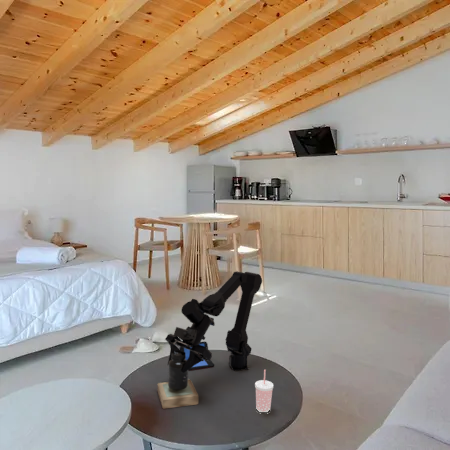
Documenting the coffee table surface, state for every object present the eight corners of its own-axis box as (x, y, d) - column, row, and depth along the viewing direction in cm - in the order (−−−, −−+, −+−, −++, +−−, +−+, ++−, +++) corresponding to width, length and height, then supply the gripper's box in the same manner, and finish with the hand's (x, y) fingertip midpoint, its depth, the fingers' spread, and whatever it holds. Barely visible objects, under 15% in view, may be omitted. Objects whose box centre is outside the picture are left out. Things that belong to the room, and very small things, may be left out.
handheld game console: (185, 372, 164) (186, 354, 163) (178, 361, 174) (178, 344, 173) (215, 367, 168) (215, 350, 168) (206, 357, 178) (206, 340, 178)
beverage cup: (258, 403, 141) (260, 364, 140) (275, 408, 138) (277, 368, 137) (250, 411, 136) (252, 370, 135) (267, 417, 133) (269, 375, 132)
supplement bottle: (189, 389, 141) (190, 356, 140) (169, 392, 139) (170, 358, 138) (185, 380, 147) (186, 348, 146) (166, 382, 145) (167, 350, 144)
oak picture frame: (190, 387, 151) (190, 379, 151) (198, 404, 140) (198, 395, 139) (157, 391, 147) (157, 382, 147) (162, 408, 136) (163, 399, 136)
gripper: (169, 312, 150) (144, 350, 142) (206, 324, 138) (182, 366, 130) (184, 327, 157) (162, 364, 149) (221, 340, 145) (199, 381, 137)
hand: (175, 368), depth 141 cm, fingers closed on supplement bottle, 7 cm apart
